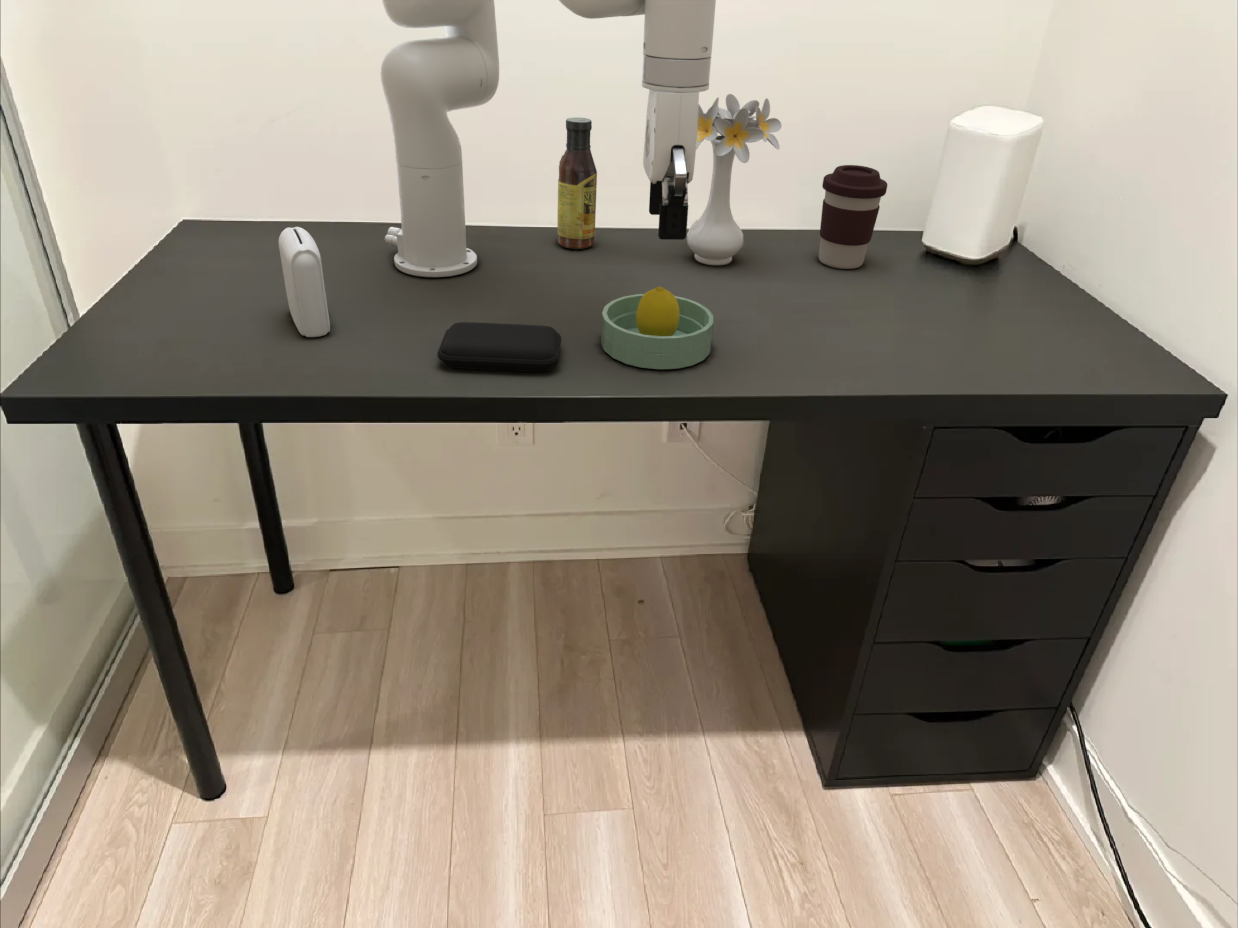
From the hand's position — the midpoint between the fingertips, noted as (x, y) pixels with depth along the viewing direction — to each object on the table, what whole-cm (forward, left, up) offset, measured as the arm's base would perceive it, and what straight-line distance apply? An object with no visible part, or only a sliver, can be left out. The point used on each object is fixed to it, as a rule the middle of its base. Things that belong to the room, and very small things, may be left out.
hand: (666, 225), depth 107 cm
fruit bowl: (0, 0, -16) cm, 16 cm away
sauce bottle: (-28, +30, -16) cm, 44 cm away
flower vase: (-6, +35, -16) cm, 39 cm away
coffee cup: (+13, +46, -16) cm, 51 cm away
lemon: (0, 0, -16) cm, 16 cm away
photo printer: (-43, -17, -16) cm, 49 cm away
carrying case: (-16, -12, -16) cm, 26 cm away
